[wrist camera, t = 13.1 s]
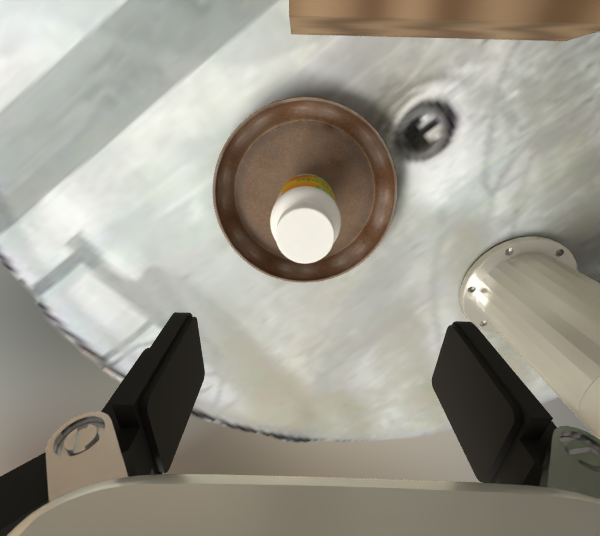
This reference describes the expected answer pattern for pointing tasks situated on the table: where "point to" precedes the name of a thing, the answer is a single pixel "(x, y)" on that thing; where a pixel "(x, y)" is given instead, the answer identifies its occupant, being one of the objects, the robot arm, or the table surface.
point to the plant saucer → (304, 160)
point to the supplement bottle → (305, 219)
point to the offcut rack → (447, 18)
